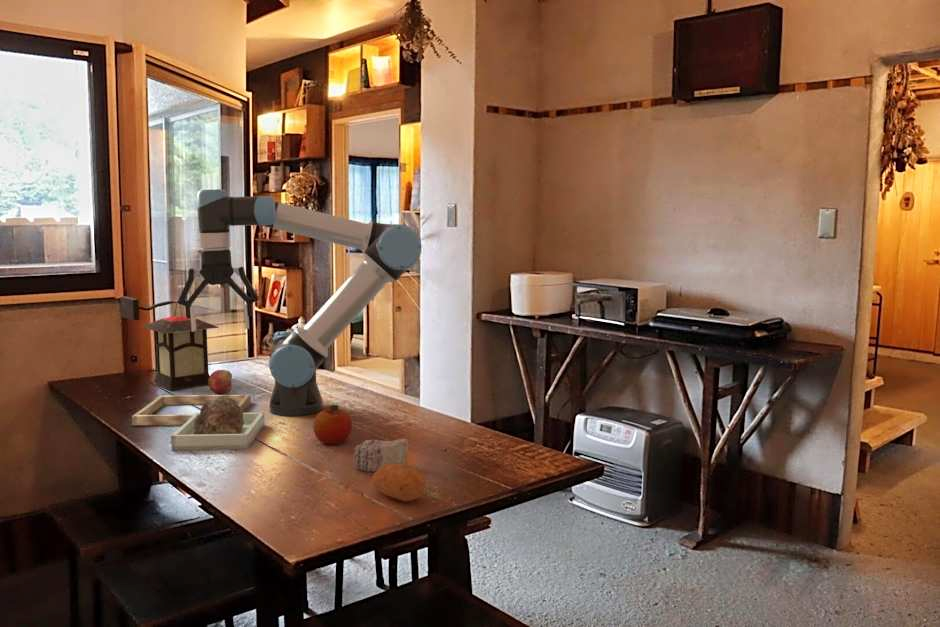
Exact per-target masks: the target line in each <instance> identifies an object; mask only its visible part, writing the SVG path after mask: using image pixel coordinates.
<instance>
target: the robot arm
mask: <svg viewBox="0 0 940 627" xmlns="http://www.w3.org/2000/svg"><path fill="white" fill-rule="evenodd" d="M196 197H197V207H196V208H197V220H198V231H199V232H198V234H199V237H198V238H199V248H200V249H201V251H200V262H201V267H200V269H199V268H195V267H192V268H189V270H188V277H187V280H186V282H185V284H184V287H183V290H182V291H181V293H180V295H179V297H178V300H177V301H178V303H177V305H180V306H184V307H185V311H186V312H185V313H186V314H185V316H186V317H187V319H191V329H192V332H193V331H196V319H197V318H196V305H192V304H193V303H194V302H195V301H196V300H197V298H198V297H199V295H200V294H201V293H202V291H204V289H205V288H206V287H207V286H208V285H210V286H215V285H220V286H223V285H226V284H227V285H228V286H229V287H230V288H231V289H232V290H233V291H234V292H235V293H236V294H237V295H238V297H240V298H241V299H242V300H243V301H244V302H245V303H244V304H243V312H244V316H243V317H244V329H245V330H249V329H250V317H251V316H253V314H254V313H253V303H256V302H258V301H259V299H260V296H259V295H258V294H257V292H256V291H255V289H254V287H253V285H252V283H251V282H250V280H249V279H248V277H247V275H246V270H245V267H244V266H239V267H236V268H235V267H233V265H232V251H231V249H229V248H230V247H231V238H230V236H231V234H230V226H231V227H236V226H261V227H265V228H269V229H274V230H278V231H282V232H286V233H291V234H295V235H299V236H304V237H307V238H312V239H316V240H318V241H319V240H320V241H323V242H328V243H333V244H335V245H340V246H345V247H350V248H353V249H356V250H360V251H361V252H362V253H363V262H361V264H359V266H358V267H357V268H356V269H355V270H354V271H353V272H352V273H351V274H350V275H349V277H348V278H347V279H346V280H345V282H343V283H342V285H341V286H340V287H338V289H337V290H336V291H335V292H334V293H333V295H331V297H329V299H328V300H327V301H326V302H325V303H324V304H323V305H322V306H321V307H320V308H319V309H318V311H317V312H315V313H314V315H313V316H312V318H310V320H308V321H307V322H306V323H305V325H304V326H303V327H294V328H293V330H287V331H284V330H283V331H276V332H275V333H274V334H273V339H272V343H273V351H272V353H271V356H270V357H269V362H268V363H269V364H268V366H269V372H270V373H271V377H273V379H274V387H273V390H272V393H271V397H270V400H269V412H270V413H271V414H274V415H277V416H278V415H279V416H286V417H287V416H289V417H291V416H307V415H311V414H315V413H319V412H321V411H323V410H324V409H323V408H324V401H323V397H322V395H321V392H320V388H319V386H318V383H317V369H318V368H319V366H321V364H323V363H324V361H325V360H326V359H327V358H328V357H329V350H328V349H329V347H330V346H331V345H332V344H333V343H334V342H335V340H336V339H337V338H338V337H340V335H341V334H342V333H343V332H344V331H345V330H346V328H348V327H349V325H350V324H352V322H353V321H354V320H355V318H357V316H359V315H360V314H361V312H362V311H363V310H364V309H365V308H366V307H367V305H368V304H369V303H370V302H371V301H372V300H373V299H374V298H375V297H376V296H377V294H379V293H380V291H381V290H382V289H384V287H385V286H386V285H387V284H389V283H397V280H399V279H400V278H401V276H402V275H403V274H404V273H405V272H406V271H407V270H408V269H411V268H412V267H413V266H414V265H416V264H417V263H418V261H419V259H420V257H421V255H422V242H421V238H420V236H419V235H418V233H417V232H416V231H415V230H414V229H413V228H411V227H410V226H408V225H405V224H400V223H399V224H397V223H396V224H393V223H391V224H389V223H380V222H377V221H369V222H368V223H365V222H361V221H357V220H353V219H349V218H345V217H340V216H337V215H332V214H329V213H324V212H320V211H316V210H311V209H307V208H304V207H300V206H296V205H292V204H289V203H288V204H287V203H284V202H283V203H282V202H279V201H275V198H274V197H273V196H269V195H267V196H265V195H256V196H229V195H228V192H227V190H226V189H219V188H218V189H214V188H213V189H201V190H199V191H198V192H197V196H196ZM234 273H235V274H236V276H239V278H240V280H241V281H242V283H243V285H244V287H245V288H246V290H247V292H248V293H249V294H250V296H251V297H250V296H249V295H248V294H247V293H246V292H245V291H244V289H242V288H241V287H240V286H239V285H238V283H236V282H235V281H234V279H233V278H232V276H233V274H234ZM199 274H200V275H201V277H202V278H203V280H202V281H201V283H200V284H199V285H198V287H197V288H196V289H195V290H194V292H193V293H192V294H191V296H190V297H189V298H188V299H187V297H188V295H189V292H190V290H191V288H192V286H193V283H194V282H195V278H197V277H198V276H199Z"/></svg>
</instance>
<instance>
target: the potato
mask: <svg viewBox="0 0 940 627" xmlns="http://www.w3.org/2000/svg"><path fill="white" fill-rule="evenodd" d="M372 483H373V485H374V487H375V488H376V490H378V491H379V492H381V493H383V494H384V495H386V496H389V497H391V498H393V499H394V500H395V499H396V500H397V501H401V502H405V503H407V502H412V501H415V500H418V499H419V498H420V499H421V497H422V496H423V493H424V492H425V489H426V480H425V477H424V476H423V474H422V473H420V472H418V471H417V470H415V469H413V468H411V467H410V466H407V465H406V464H405V465H402V464H389V465H385V466H383V467H381V468H379V469H378V470H377V471H374V473H373V475H372Z"/></svg>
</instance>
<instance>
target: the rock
mask: <svg viewBox="0 0 940 627" xmlns="http://www.w3.org/2000/svg"><path fill="white" fill-rule="evenodd" d="M243 413H244V411H242V409H241V408H240V407H239V406H238V404H236V402H235V400H234V399H232V398H225V399H223V398H219V399H217V400H213V401H209V402H206V403H205V404H202V406H201V409H200V415H199V416H198V418H197V419H196V420H195V423H194V429H195V431H194V435H201V434H240V433H241V432H242V427H243V425H244V422H243Z"/></svg>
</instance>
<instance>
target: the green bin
mask: <svg viewBox="0 0 940 627" xmlns="http://www.w3.org/2000/svg"><path fill="white" fill-rule="evenodd" d="M193 414H194V415H193V416H192V417H191V418H190V419H189V420H188V421H187V422H186V423H185V424H184V425H180V427H179V428H178V429H177V430H176V431H174V432H173V434H171V436H170V440H171V441H170V443H171V444H170V446H171V451H195V450H196V451H198V450H199V451H208V449H209V450H214V451H215V449H216V450H248V449H249V448H250V446H252V444H253V442H254V441H255V440H256V438H257V437H258V435H259V433H261V431H262V430H263V428H265V413H264V412H243V422H244V425H243V427H242V432H241V433H240V434H201V435H194V431H195V429H194V423H195V420H196V419H197V418H198V416H199V415H200V413H193Z"/></svg>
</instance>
